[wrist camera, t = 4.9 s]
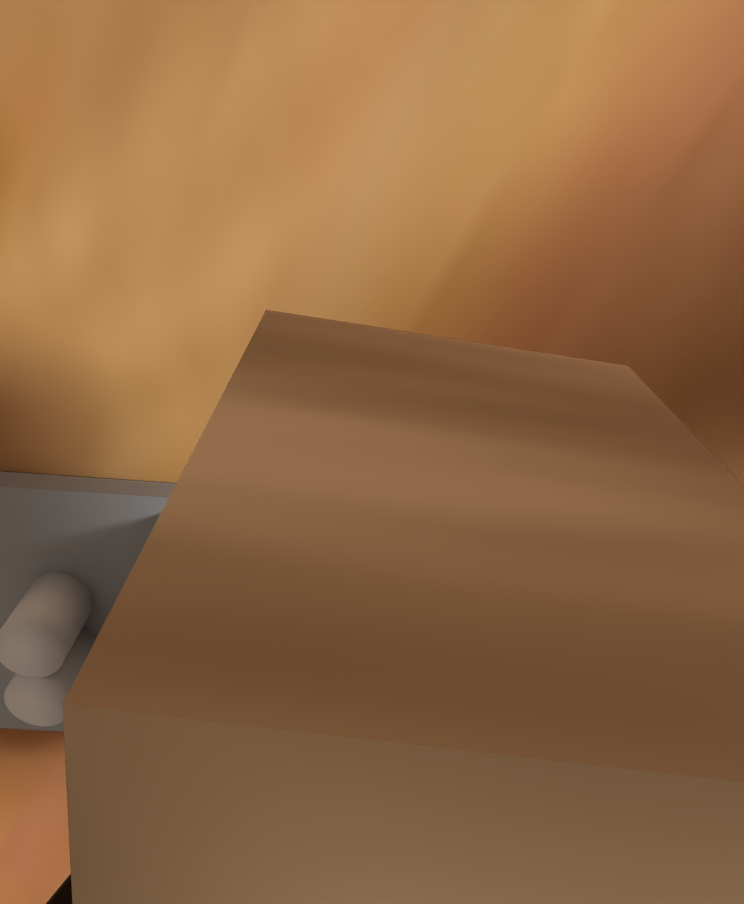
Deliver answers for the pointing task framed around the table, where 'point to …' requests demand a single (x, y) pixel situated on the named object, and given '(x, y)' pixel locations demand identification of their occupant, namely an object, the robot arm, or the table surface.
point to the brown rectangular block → (421, 643)
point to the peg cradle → (62, 580)
